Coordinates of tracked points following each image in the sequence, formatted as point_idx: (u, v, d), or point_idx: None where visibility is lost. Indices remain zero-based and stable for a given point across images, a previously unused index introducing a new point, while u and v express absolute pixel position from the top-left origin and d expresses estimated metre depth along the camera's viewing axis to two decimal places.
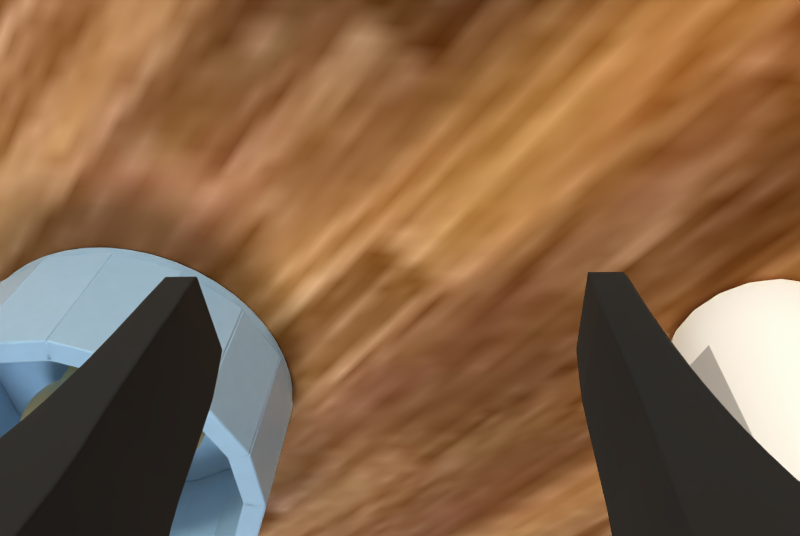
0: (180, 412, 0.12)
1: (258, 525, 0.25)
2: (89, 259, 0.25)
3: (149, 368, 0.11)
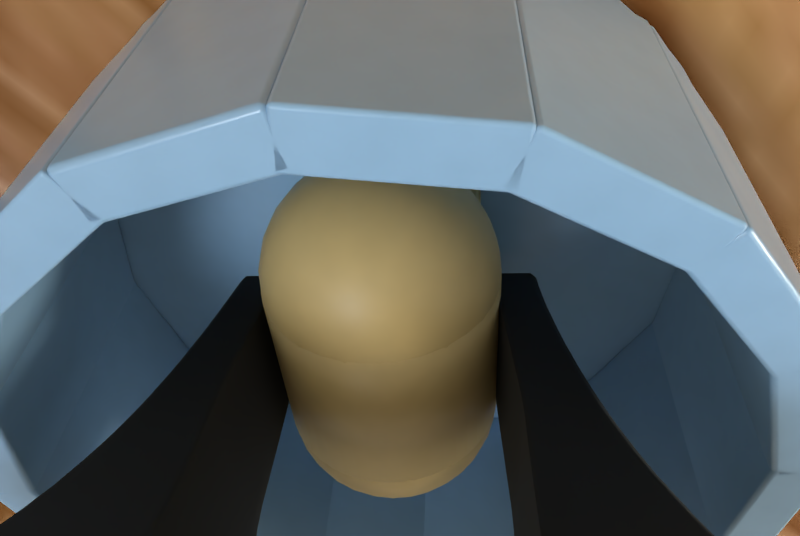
0: (265, 413, 0.12)
1: None
2: None
3: (242, 368, 0.11)
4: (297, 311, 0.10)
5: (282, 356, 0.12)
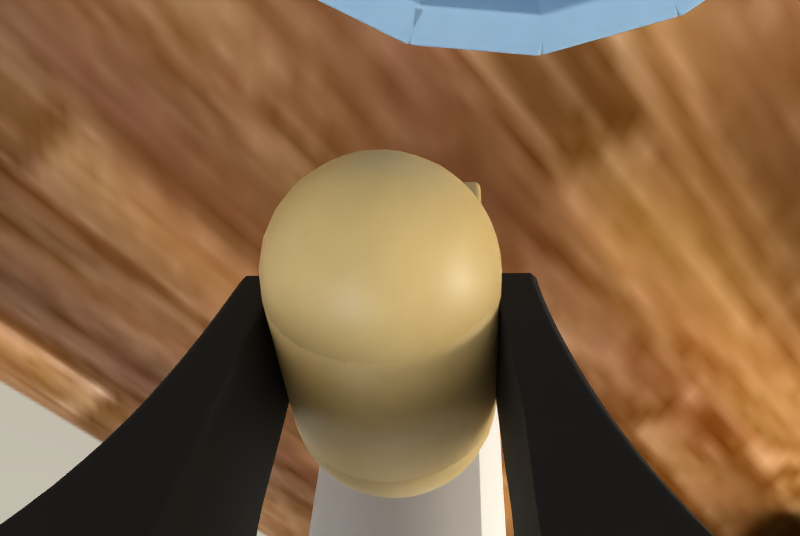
0: (265, 413, 0.12)
1: (355, 15, 0.13)
2: None
3: (242, 368, 0.11)
4: (296, 311, 0.10)
5: (282, 356, 0.12)
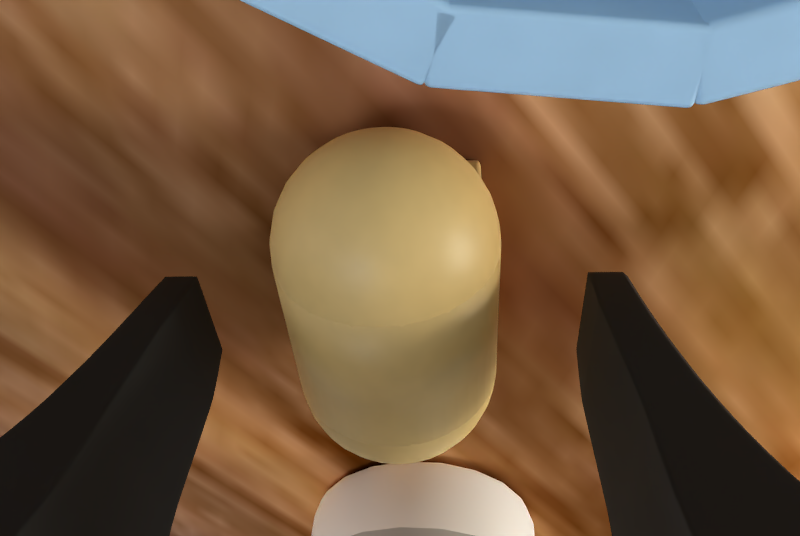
0: (180, 412, 0.12)
1: (313, 28, 0.06)
2: None
3: (149, 368, 0.11)
4: (306, 277, 0.11)
5: (292, 323, 0.12)
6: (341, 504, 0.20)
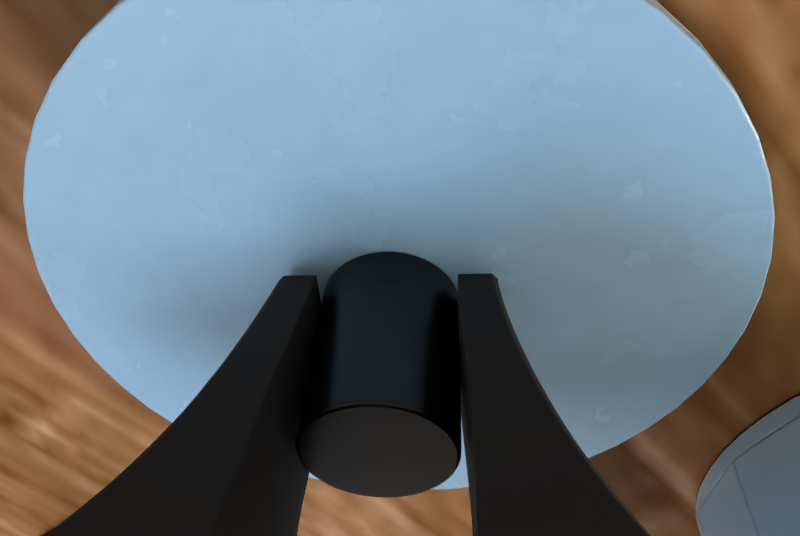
0: None
1: None
2: None
3: (286, 368, 0.11)
4: None
5: None
6: None
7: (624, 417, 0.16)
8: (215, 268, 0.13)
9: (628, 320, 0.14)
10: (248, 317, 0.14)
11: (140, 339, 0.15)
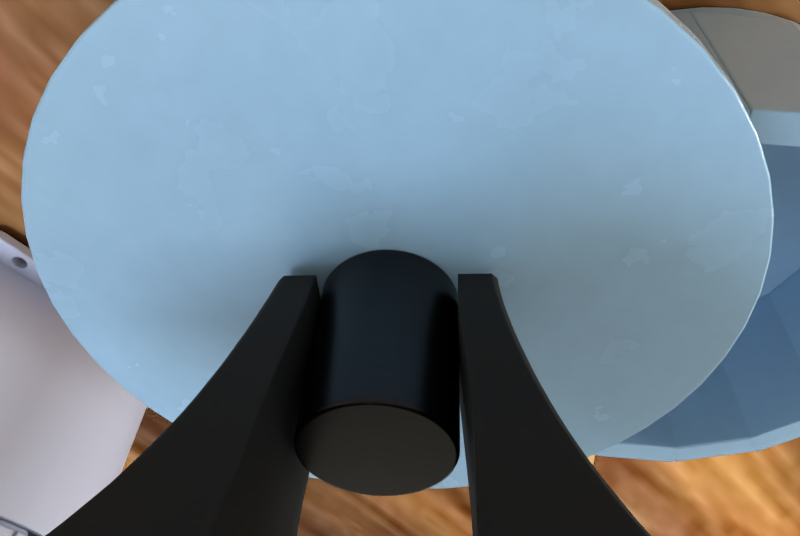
0: None
1: None
2: None
3: (286, 368, 0.11)
4: None
5: None
6: None
7: (623, 416, 0.16)
8: (213, 266, 0.13)
9: (627, 318, 0.14)
10: (247, 316, 0.14)
11: (138, 337, 0.15)
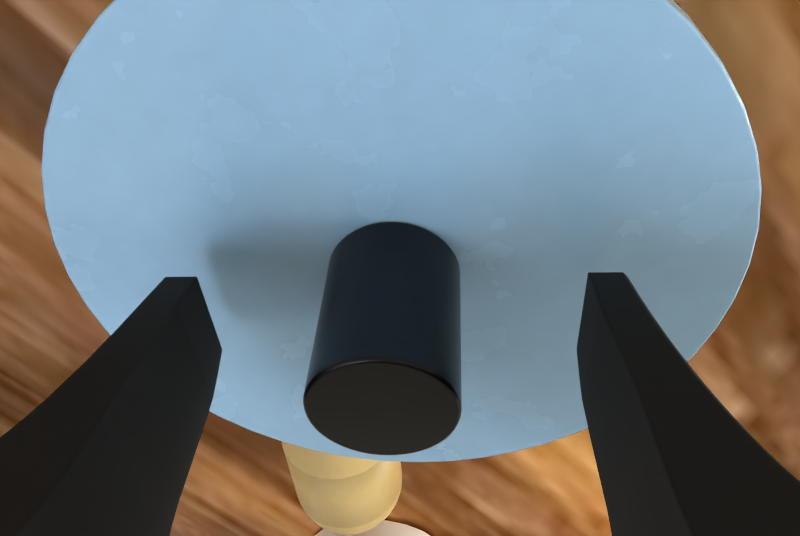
0: (180, 412, 0.12)
1: None
2: None
3: (149, 368, 0.11)
4: (298, 456, 0.23)
5: (291, 470, 0.24)
6: None
7: None
8: (225, 239, 0.14)
9: None
10: (256, 288, 0.15)
11: None
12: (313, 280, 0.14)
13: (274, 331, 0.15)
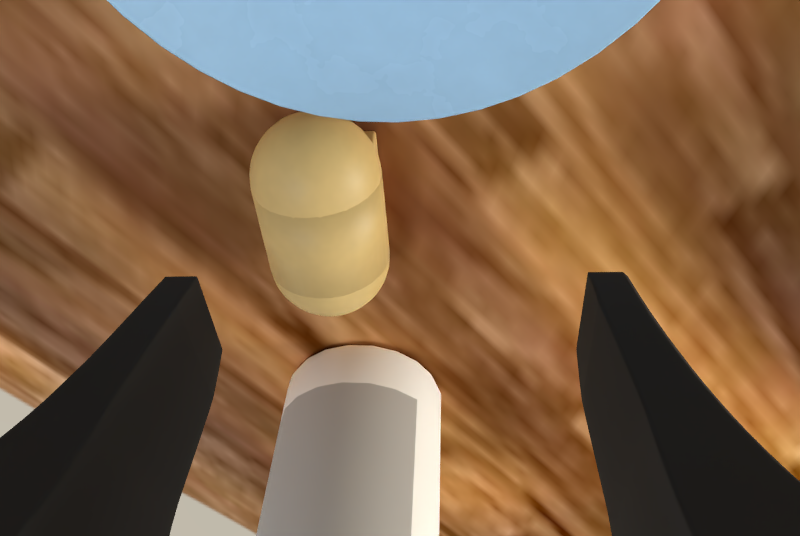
0: (180, 412, 0.12)
1: None
2: None
3: (149, 368, 0.11)
4: (268, 191, 0.20)
5: (262, 222, 0.21)
6: (304, 373, 0.29)
7: None
8: None
9: None
10: None
11: None
12: None
13: None
